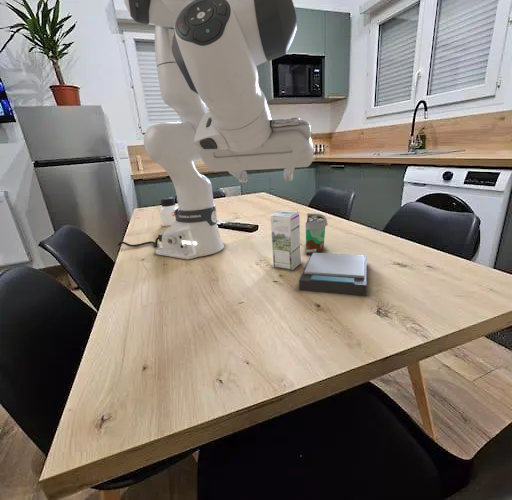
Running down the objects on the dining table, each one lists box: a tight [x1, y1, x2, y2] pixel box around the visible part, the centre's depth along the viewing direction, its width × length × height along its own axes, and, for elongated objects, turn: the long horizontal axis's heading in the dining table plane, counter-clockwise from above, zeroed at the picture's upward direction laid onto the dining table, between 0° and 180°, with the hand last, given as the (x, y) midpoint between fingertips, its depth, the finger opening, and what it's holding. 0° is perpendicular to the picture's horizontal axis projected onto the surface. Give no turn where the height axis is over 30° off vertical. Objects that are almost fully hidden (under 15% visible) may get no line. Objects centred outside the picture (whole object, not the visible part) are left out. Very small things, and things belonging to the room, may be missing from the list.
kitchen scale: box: [298, 252, 368, 297], centre depth 71 cm, size 14×17×3 cm
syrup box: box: [270, 210, 302, 271], centre depth 78 cm, size 6×6×14 cm
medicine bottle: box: [158, 197, 179, 227], centre depth 136 cm, size 7×7×12 cm
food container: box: [305, 213, 329, 256], centre depth 89 cm, size 12×6×10 cm, turn 168°
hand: (266, 179), depth 60 cm, fingers open, 8 cm apart
